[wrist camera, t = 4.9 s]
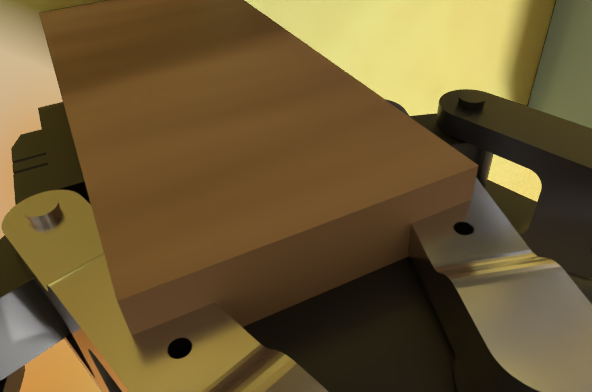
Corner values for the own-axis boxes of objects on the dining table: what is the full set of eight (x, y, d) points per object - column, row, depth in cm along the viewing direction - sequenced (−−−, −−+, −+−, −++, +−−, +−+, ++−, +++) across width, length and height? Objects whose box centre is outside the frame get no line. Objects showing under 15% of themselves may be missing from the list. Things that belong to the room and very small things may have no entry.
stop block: (39, 12, 12) (117, 301, 5) (216, -20, 13) (478, 165, 6) (95, 166, 15) (197, 491, 8) (236, 126, 16) (434, 368, 9)
